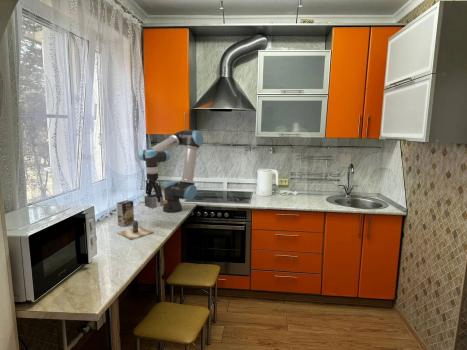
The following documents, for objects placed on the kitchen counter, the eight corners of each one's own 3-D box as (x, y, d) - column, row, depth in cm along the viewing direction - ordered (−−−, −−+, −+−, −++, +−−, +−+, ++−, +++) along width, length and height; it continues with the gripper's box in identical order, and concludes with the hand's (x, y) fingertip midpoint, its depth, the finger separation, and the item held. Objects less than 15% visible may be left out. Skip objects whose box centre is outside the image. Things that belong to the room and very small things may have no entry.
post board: (140, 227, 215) (139, 216, 214) (153, 233, 205) (153, 221, 203) (117, 233, 204) (117, 221, 202) (130, 240, 193) (130, 227, 192)
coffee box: (124, 227, 216) (122, 204, 214) (117, 225, 220) (116, 202, 217) (134, 223, 224) (133, 201, 221) (128, 221, 227) (126, 200, 225)
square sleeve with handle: (162, 201, 227) (162, 192, 226) (170, 203, 221) (169, 194, 220) (145, 206, 217) (144, 196, 215) (152, 208, 211) (151, 198, 209)
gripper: (138, 171, 217) (140, 203, 222) (156, 175, 203) (159, 209, 207) (148, 170, 223) (150, 201, 227) (166, 174, 208) (168, 207, 212)
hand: (154, 205), depth 217 cm, fingers closed on square sleeve with handle, 9 cm apart
